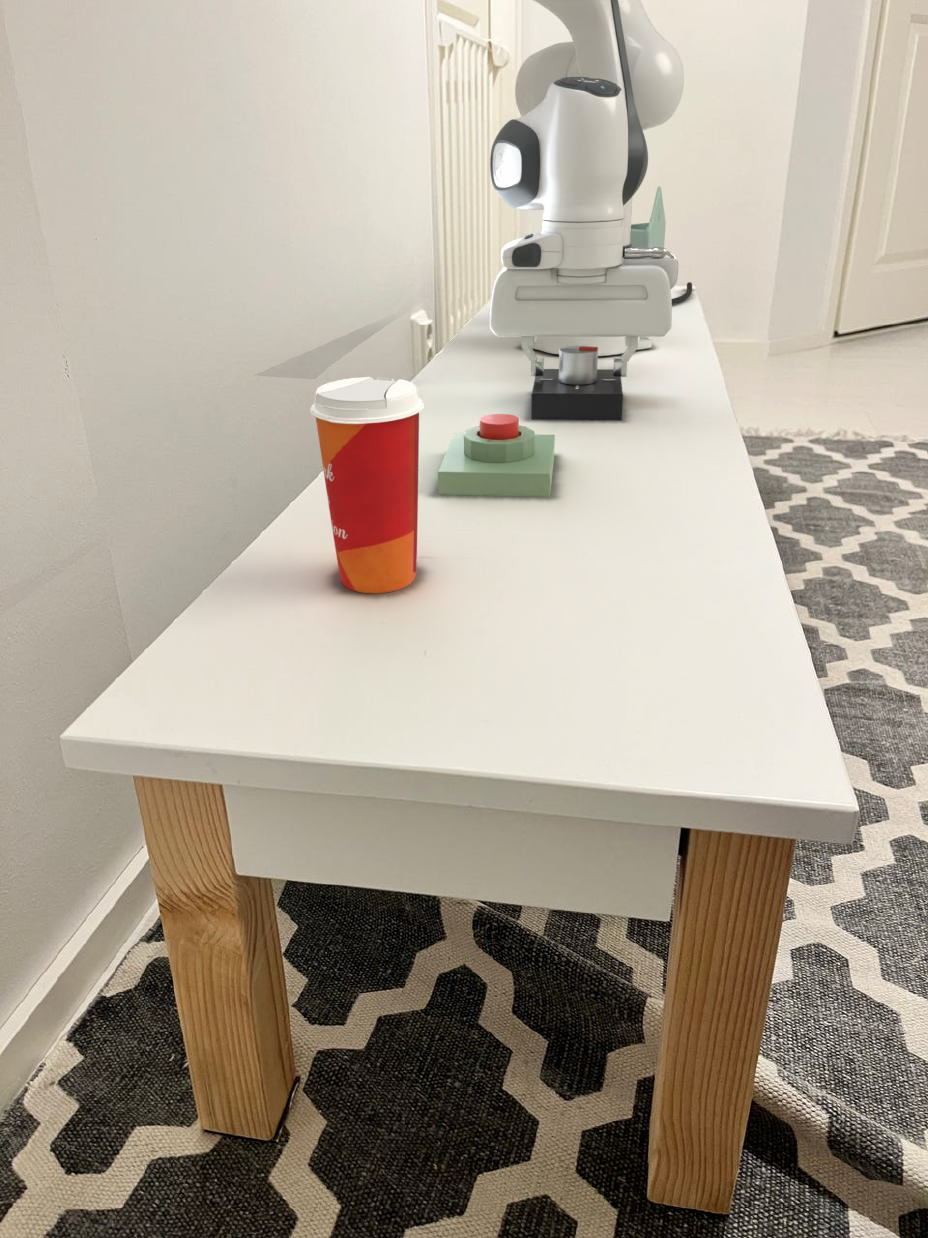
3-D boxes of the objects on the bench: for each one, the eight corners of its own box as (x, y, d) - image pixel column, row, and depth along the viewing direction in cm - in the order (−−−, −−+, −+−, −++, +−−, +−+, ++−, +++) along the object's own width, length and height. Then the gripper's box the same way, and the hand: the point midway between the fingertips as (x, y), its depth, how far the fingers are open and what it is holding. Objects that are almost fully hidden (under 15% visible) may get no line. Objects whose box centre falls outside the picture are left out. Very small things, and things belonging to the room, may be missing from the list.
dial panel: (536, 393, 119) (536, 367, 118) (618, 394, 118) (620, 367, 117) (531, 419, 109) (531, 391, 107) (621, 421, 107) (623, 392, 106)
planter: (617, 300, 179) (623, 183, 170) (660, 301, 176) (668, 183, 167) (598, 316, 165) (603, 189, 156) (644, 317, 163) (652, 189, 154)
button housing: (454, 454, 98) (453, 415, 96) (554, 455, 97) (555, 416, 95) (438, 494, 87) (436, 451, 85) (550, 497, 86) (550, 453, 84)
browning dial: (556, 384, 110) (557, 350, 109) (560, 375, 114) (561, 342, 113) (595, 385, 110) (596, 351, 108) (598, 376, 113) (599, 343, 112)
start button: (481, 431, 92) (481, 413, 91) (519, 432, 92) (519, 413, 91) (478, 442, 89) (477, 424, 88) (517, 443, 89) (517, 424, 88)
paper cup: (355, 551, 76) (341, 371, 70) (446, 564, 74) (440, 378, 67) (305, 591, 70) (285, 398, 63) (403, 607, 67) (392, 407, 61)
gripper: (677, 243, 107) (668, 369, 113) (492, 244, 109) (493, 368, 116) (682, 250, 101) (672, 382, 108) (487, 251, 104) (488, 381, 110)
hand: (578, 375), depth 112 cm, fingers open, 8 cm apart
